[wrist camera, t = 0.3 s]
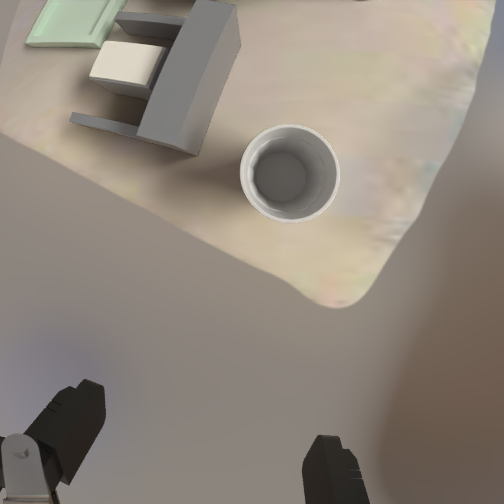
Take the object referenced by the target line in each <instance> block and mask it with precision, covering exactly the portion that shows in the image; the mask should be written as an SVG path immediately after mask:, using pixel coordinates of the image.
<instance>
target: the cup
mask: <svg viewBox="0 0 504 504" xmlns="http://www.w3.org/2000/svg"><path fill="white" fill-rule="evenodd" d="M339 180H340V169H339V163H338V159H337V157H336V154H335V152H334V150H333V148H332V147H331V145H330V144H329V143H328V142H327V140H326V139H325V138H324V137H322V136H321V135H320V134H319V133H317V132H316V131H314V130H312V129H310V128H308V127H305V126H302V125H297V124H281V125H276V126H273V127H270V128H268V129H266V130H264V131H262V132H261V133H259V134H258V135H257V136H256V137H255V138H254V139H253V140H252V141H251V142H250V143H249V145H248V146H247V148H246V149H245V151H244V154H243V156H242V159H241V164H240V182H241V186H242V189H243V192H244V194H245V196H246V198H247V199H248V201H249V202H250V204H251V205H252V206H253V207H254V208H255V209H256V210H257V211H258V212H260V213H261V214H262V215H264V216H266V217H267V218H269V219H272V220H274V221H278V222H282V223H299V222H304V221H307V220H310V219H312V218H314V217H316V216H317V215H319V214H320V213H322V212H323V211H324V210H325V209H326V208H327V207H328V206H329V204H330V203H331V202H332V200H333V199H334V197H335V195H336V192H337V189H338V186H339Z"/></svg>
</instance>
